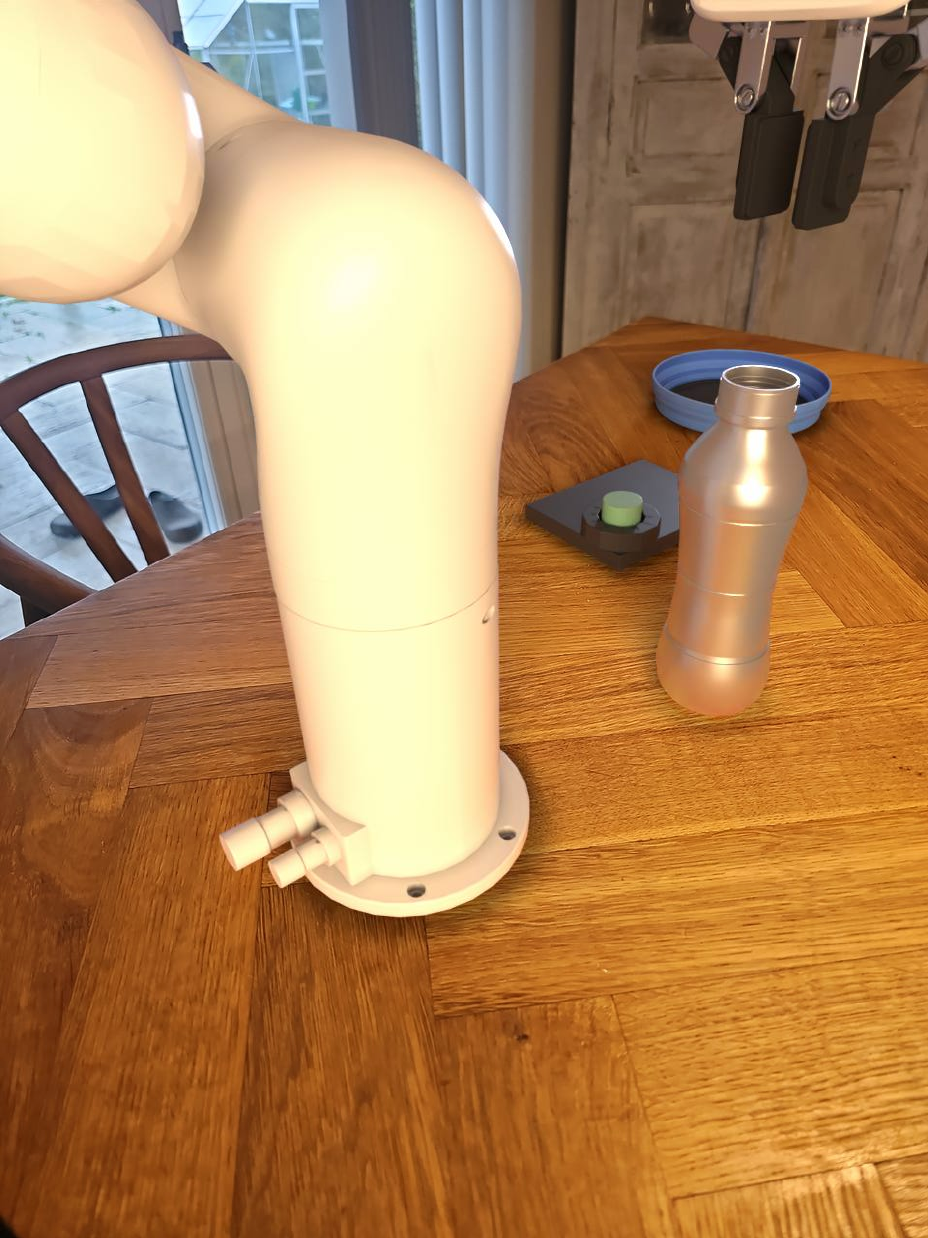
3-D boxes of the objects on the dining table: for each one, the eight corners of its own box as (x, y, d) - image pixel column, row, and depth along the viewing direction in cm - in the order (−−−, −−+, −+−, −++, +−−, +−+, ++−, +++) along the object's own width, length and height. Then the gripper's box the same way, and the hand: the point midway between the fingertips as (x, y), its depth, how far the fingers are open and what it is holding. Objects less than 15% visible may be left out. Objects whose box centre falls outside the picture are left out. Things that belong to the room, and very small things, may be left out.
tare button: (621, 533, 64) (622, 512, 63) (593, 518, 66) (594, 498, 65) (648, 520, 65) (651, 500, 64) (620, 507, 67) (622, 486, 66)
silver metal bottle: (721, 747, 49) (787, 413, 37) (629, 691, 53) (662, 377, 41) (783, 697, 52) (861, 377, 41) (692, 648, 56) (739, 347, 45)
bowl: (620, 420, 89) (623, 387, 87) (688, 369, 101) (692, 339, 99) (794, 457, 80) (801, 421, 78) (845, 397, 92) (853, 365, 90)
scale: (618, 576, 64) (621, 542, 62) (521, 520, 71) (521, 488, 70) (742, 518, 71) (748, 485, 69) (641, 472, 78) (644, 442, 77)
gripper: (629, -362, 30) (597, 209, 41) (1143, -590, 19) (917, 265, 30) (764, -326, 34) (702, 190, 44) (1260, -502, 23) (1021, 234, 33)
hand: (789, 216), depth 37 cm, fingers closed
